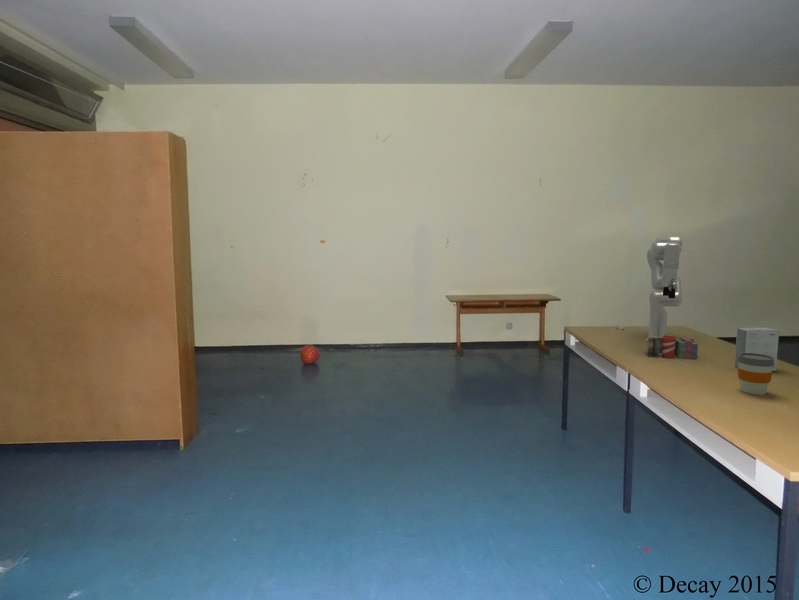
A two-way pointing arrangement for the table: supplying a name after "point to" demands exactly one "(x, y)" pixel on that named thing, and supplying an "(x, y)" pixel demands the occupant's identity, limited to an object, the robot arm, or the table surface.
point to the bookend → (654, 349)
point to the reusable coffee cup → (755, 372)
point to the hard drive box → (757, 343)
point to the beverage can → (668, 345)
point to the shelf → (678, 347)
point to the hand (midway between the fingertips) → (668, 296)
